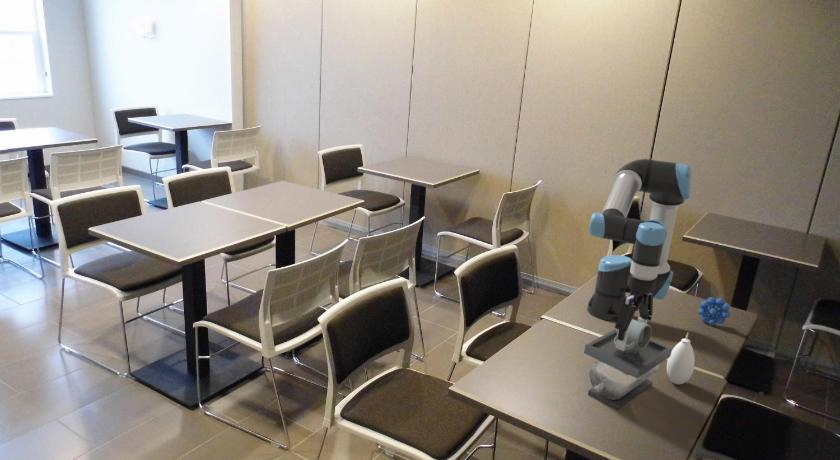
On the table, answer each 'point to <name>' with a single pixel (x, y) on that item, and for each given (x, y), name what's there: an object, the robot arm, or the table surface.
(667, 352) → the grey piece
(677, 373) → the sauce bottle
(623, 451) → the table surface
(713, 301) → the grapes
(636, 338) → the ceramic mug
